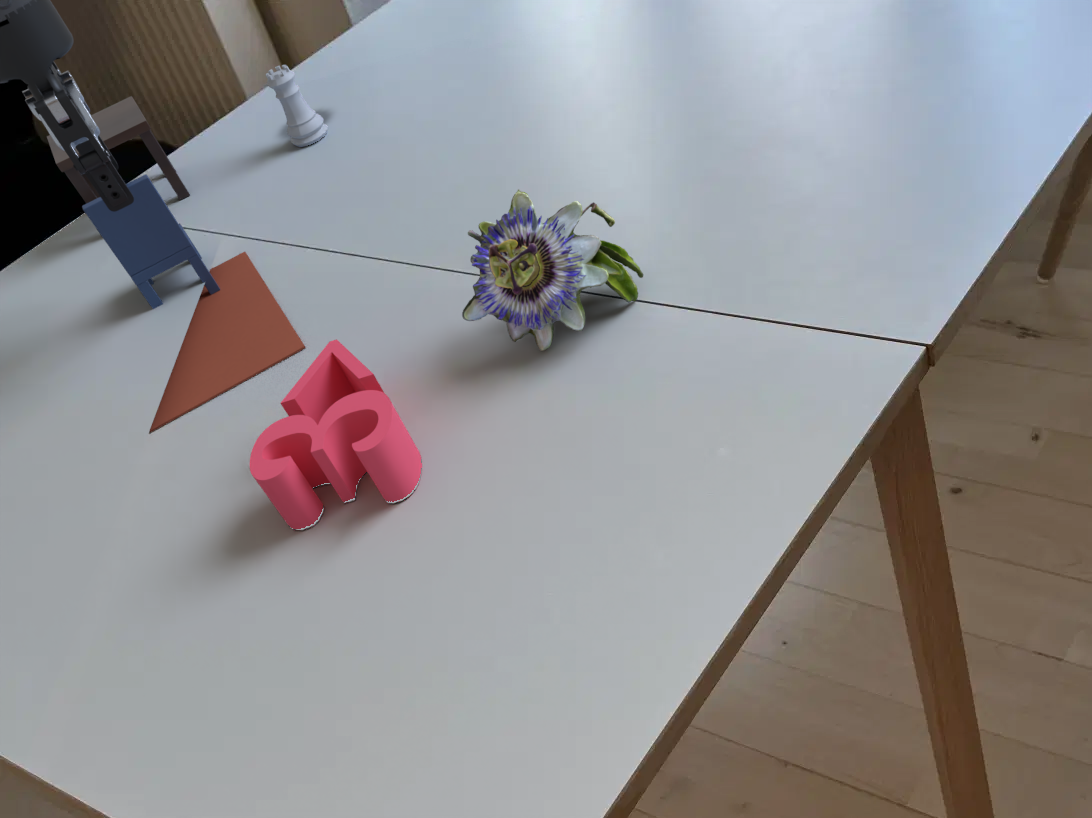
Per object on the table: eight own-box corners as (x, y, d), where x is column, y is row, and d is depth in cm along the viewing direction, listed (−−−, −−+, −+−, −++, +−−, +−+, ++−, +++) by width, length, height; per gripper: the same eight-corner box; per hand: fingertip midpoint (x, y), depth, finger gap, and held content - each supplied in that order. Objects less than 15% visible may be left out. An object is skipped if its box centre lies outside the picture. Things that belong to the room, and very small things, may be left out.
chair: (150, 296, 106) (74, 187, 98) (207, 266, 107) (137, 156, 99) (161, 321, 102) (82, 209, 94) (220, 290, 103) (148, 177, 95)
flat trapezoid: (112, 322, 105) (110, 320, 105) (245, 252, 108) (244, 251, 107) (150, 432, 89) (149, 431, 89) (306, 347, 92) (304, 346, 92)
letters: (303, 408, 85) (272, 358, 82) (426, 371, 84) (400, 319, 81) (280, 537, 75) (243, 486, 72) (420, 496, 74) (389, 443, 71)
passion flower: (571, 397, 86) (438, 335, 80) (566, 298, 93) (443, 232, 86) (666, 314, 80) (529, 239, 73) (654, 214, 86) (528, 135, 79)
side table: (95, 207, 127) (46, 136, 120) (175, 167, 129) (131, 95, 122) (107, 237, 119) (56, 164, 113) (192, 195, 121) (146, 120, 115)
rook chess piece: (325, 142, 122) (290, 74, 116) (288, 152, 123) (252, 85, 117) (333, 123, 125) (300, 56, 120) (297, 133, 126) (263, 67, 120)
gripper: (-59, 5, 88) (65, 183, 99) (-52, 46, 78) (85, 239, 89) (31, -34, 90) (143, 145, 101) (49, 1, 79) (171, 196, 90)
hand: (115, 189), depth 95 cm, fingers open, 8 cm apart
